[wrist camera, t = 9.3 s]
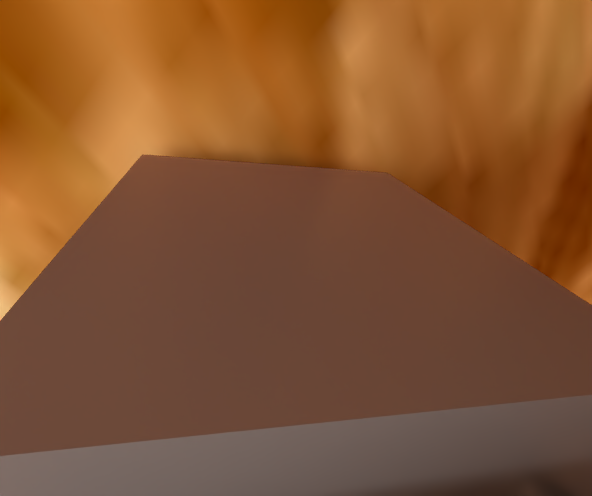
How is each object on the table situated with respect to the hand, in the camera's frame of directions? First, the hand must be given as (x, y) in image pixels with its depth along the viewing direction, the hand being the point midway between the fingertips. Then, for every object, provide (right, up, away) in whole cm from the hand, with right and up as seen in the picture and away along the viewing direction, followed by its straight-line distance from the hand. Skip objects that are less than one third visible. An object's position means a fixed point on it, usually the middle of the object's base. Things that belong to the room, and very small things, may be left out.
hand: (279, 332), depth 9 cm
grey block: (-1, +2, +3) cm, 3 cm away
